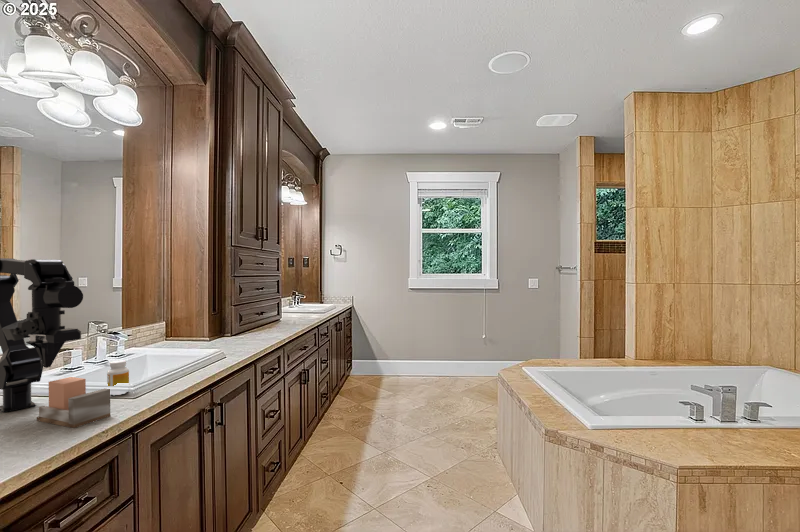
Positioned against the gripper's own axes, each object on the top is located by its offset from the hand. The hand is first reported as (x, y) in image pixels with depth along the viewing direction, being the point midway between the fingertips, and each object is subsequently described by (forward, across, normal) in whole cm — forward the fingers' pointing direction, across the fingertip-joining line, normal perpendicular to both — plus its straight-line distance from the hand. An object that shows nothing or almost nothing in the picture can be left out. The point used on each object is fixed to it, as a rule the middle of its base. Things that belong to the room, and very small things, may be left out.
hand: (47, 367), depth 108 cm
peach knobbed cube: (+10, +8, 0) cm, 13 cm away
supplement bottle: (+12, 0, +18) cm, 22 cm away
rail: (+12, +11, 0) cm, 17 cm away
